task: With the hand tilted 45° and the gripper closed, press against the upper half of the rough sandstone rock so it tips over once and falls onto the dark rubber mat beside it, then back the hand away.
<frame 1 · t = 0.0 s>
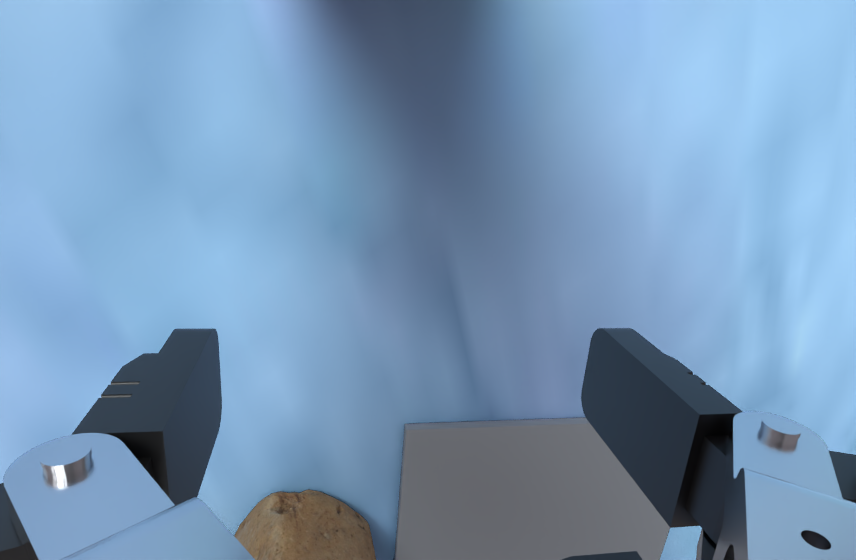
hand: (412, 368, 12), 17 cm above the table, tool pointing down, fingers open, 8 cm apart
mat: (535, 534, 39), on the table
rough sandstone rock: (288, 538, 36), on the table
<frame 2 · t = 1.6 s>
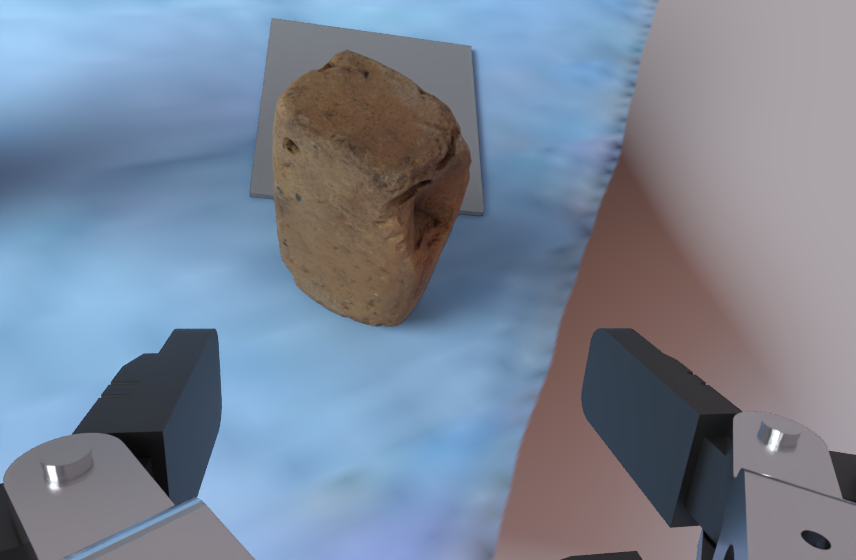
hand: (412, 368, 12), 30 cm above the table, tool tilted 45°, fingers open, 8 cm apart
mat: (372, 115, 52), on the table
rough sandstone rock: (356, 281, 45), on the table
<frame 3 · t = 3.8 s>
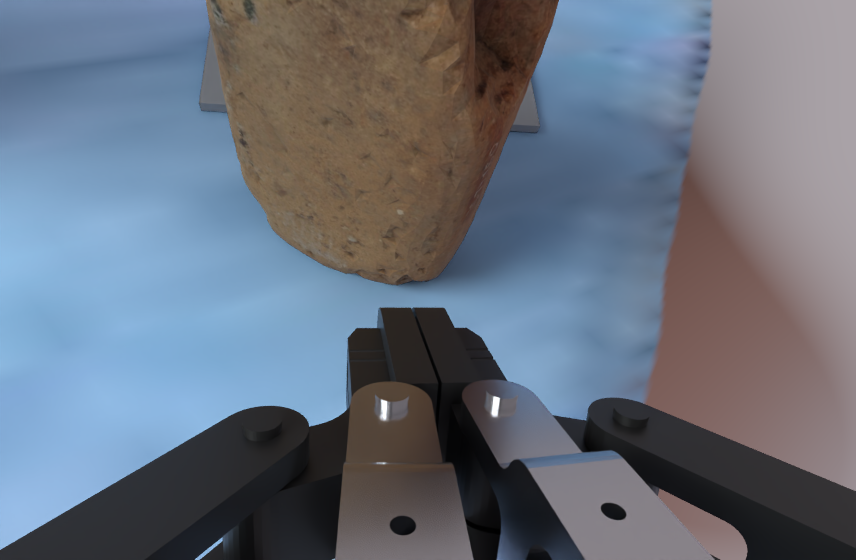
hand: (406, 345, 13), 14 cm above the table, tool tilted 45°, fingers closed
mat: (374, 7, 37), on the table
rough sandstone rock: (363, 224, 30), on the table
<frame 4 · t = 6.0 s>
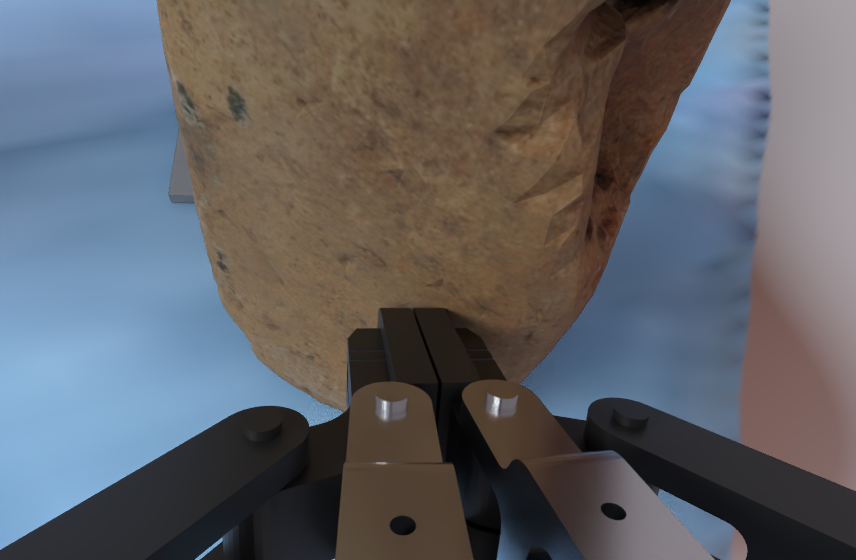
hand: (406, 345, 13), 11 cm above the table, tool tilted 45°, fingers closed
mat: (380, 61, 32), on the table
rough sandstone rock: (371, 342, 24), on the table, touching gripper
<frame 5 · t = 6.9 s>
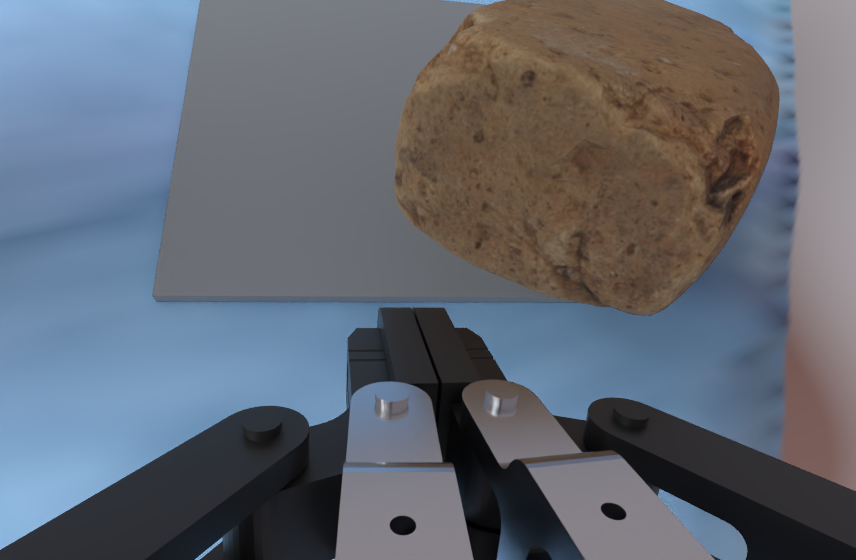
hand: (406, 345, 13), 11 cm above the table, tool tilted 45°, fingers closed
mat: (384, 130, 29), on the table
rough sandstone rock: (526, 199, 16), point 11 cm above the table
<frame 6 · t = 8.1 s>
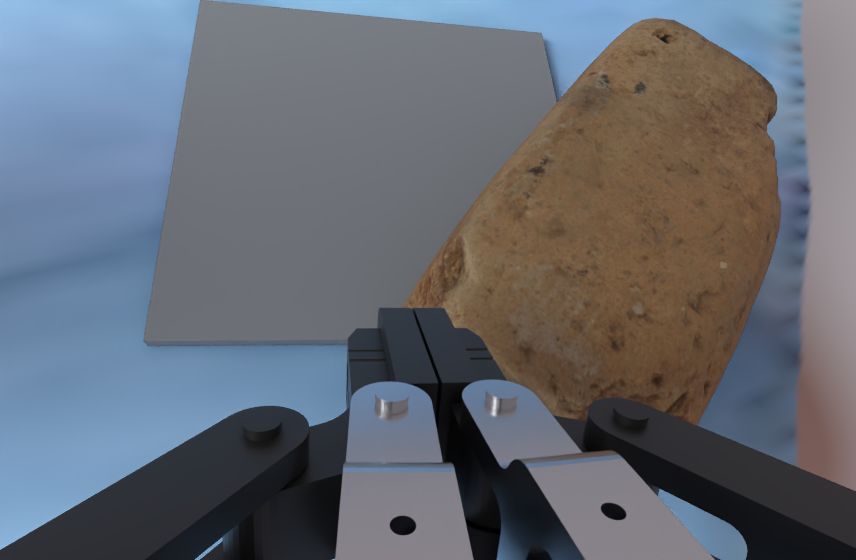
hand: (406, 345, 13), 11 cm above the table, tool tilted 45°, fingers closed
mat: (384, 160, 29), on the table
rough sandstone rock: (495, 425, 19), point 4 cm above the table, touching mat
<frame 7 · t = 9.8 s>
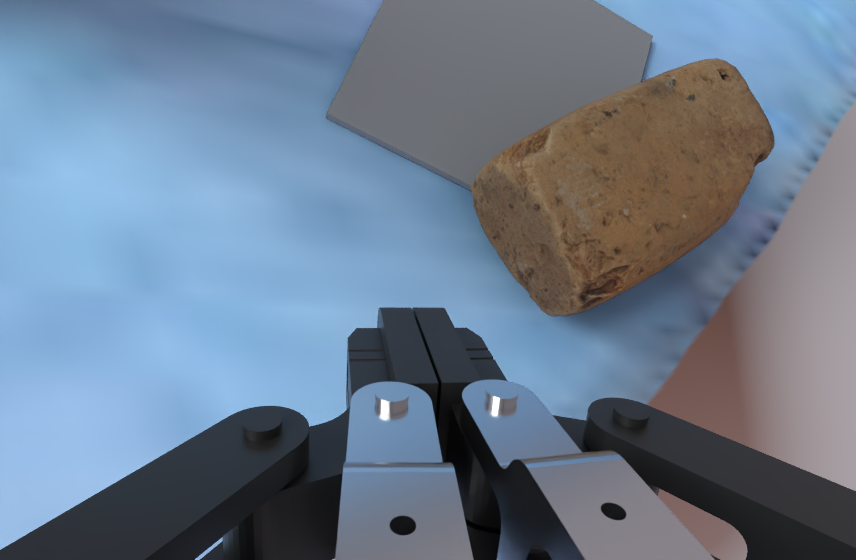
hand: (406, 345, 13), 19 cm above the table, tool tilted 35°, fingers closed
mat: (508, 74, 40), on the table
rough sandstone rock: (516, 244, 31), point 5 cm above the table, touching mat
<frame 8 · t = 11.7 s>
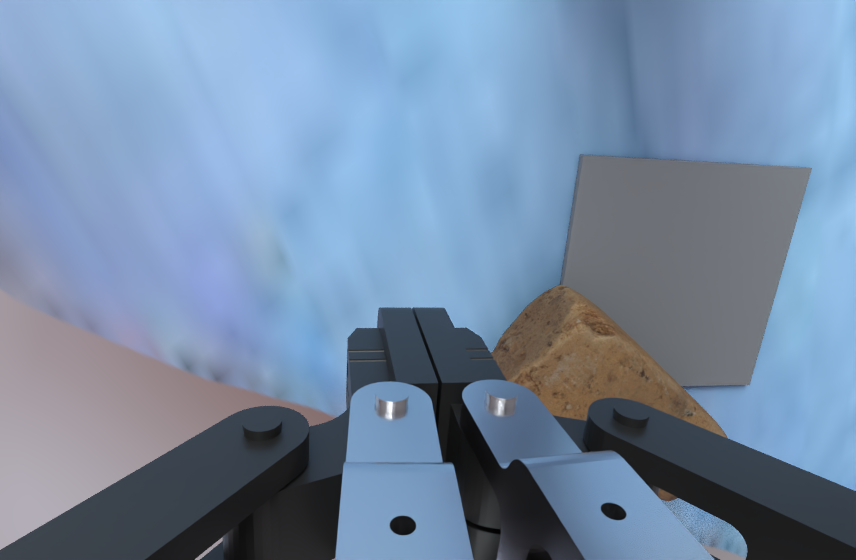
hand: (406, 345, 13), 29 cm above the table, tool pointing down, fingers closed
mat: (671, 280, 47), on the table
rough sandstone rock: (522, 334, 41), point 5 cm above the table, touching mat
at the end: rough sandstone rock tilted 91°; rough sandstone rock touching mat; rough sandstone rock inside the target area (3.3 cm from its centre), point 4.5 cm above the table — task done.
